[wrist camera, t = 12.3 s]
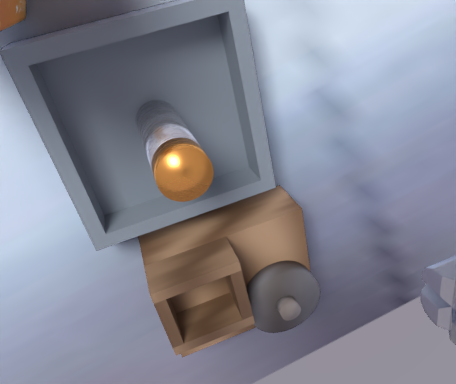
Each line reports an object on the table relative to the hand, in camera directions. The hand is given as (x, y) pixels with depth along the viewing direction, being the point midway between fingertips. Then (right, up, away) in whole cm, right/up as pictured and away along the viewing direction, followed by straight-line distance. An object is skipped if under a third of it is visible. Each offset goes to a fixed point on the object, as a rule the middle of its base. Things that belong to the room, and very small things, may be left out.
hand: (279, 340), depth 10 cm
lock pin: (-6, +8, +17) cm, 20 cm away
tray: (-6, +9, +17) cm, 20 cm away
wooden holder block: (-2, -2, +24) cm, 25 cm away
